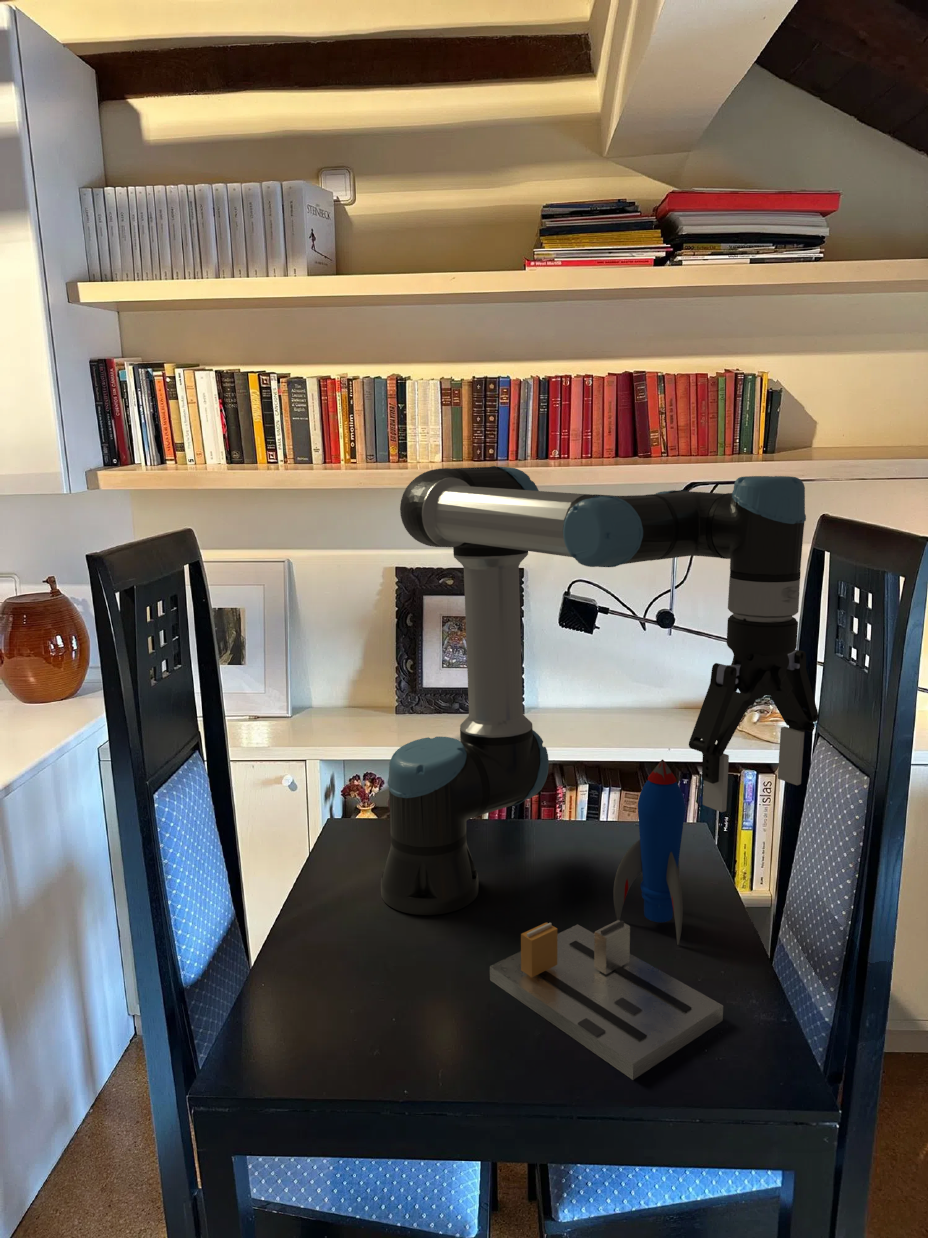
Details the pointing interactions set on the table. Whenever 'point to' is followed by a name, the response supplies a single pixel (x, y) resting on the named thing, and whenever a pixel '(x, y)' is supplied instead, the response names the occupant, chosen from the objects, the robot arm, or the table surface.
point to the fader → (539, 949)
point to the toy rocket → (656, 851)
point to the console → (611, 999)
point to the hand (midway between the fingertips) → (753, 794)
